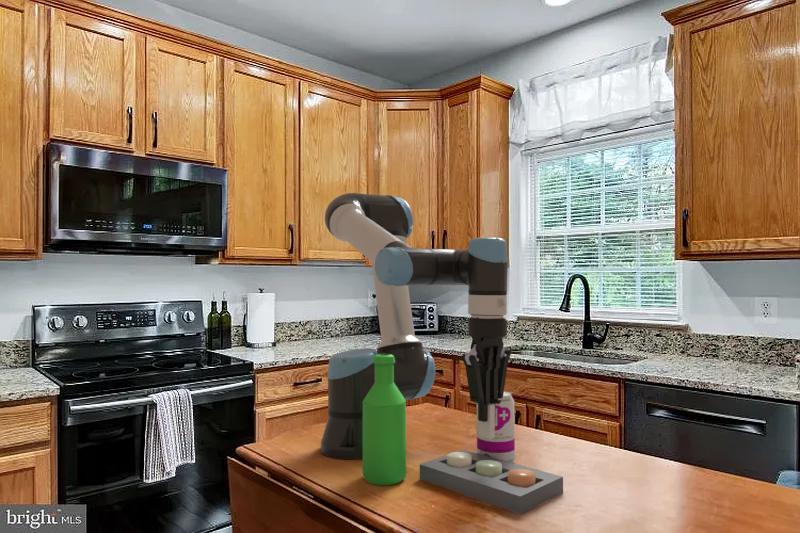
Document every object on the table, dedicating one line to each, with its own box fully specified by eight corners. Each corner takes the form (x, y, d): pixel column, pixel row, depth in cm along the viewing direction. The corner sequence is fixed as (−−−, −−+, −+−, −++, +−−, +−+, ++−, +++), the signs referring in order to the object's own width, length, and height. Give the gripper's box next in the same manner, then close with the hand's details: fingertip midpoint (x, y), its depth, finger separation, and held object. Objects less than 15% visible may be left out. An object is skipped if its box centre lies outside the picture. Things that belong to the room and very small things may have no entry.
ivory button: (442, 473, 115) (441, 455, 115) (457, 467, 118) (457, 450, 119) (460, 479, 111) (460, 461, 112) (476, 473, 115) (476, 455, 115)
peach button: (502, 492, 104) (502, 473, 104) (517, 485, 108) (517, 467, 108) (525, 499, 101) (525, 479, 101) (540, 492, 104) (540, 473, 104)
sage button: (470, 482, 110) (470, 464, 110) (486, 476, 113) (486, 458, 113) (491, 488, 106) (491, 470, 106) (507, 482, 109) (506, 464, 110)
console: (419, 479, 113) (419, 464, 113) (464, 463, 123) (464, 449, 123) (520, 514, 96) (520, 496, 96) (563, 492, 106) (563, 476, 106)
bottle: (373, 490, 108) (373, 358, 108) (355, 476, 115) (355, 353, 116) (414, 482, 112) (413, 355, 112) (394, 469, 119) (393, 351, 120)
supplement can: (514, 468, 119) (514, 397, 120) (475, 466, 121) (475, 396, 122) (514, 457, 127) (514, 390, 128) (478, 455, 129) (477, 389, 130)
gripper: (482, 319, 103) (481, 448, 103) (522, 316, 112) (522, 434, 112) (451, 316, 109) (450, 439, 108) (492, 313, 118) (491, 426, 117)
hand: (486, 436), depth 110 cm, fingers closed
